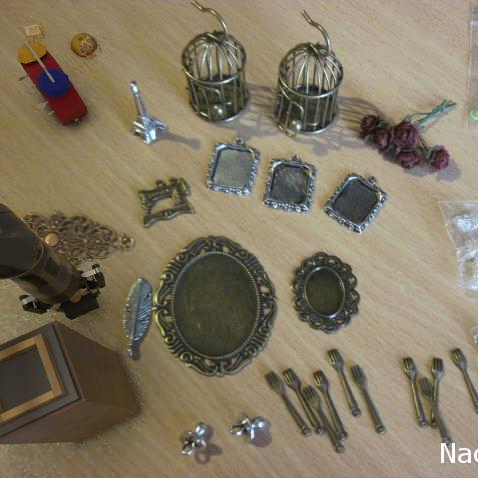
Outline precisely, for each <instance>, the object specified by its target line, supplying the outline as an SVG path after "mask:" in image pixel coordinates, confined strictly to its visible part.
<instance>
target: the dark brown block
mask: <svg viewBox="0 0 478 478" xmlns="http://www.w3.org/2000/svg"><path fill="white" fill-rule="evenodd" d="M97 299H98V298H96V299H95V298H94V297H93V296H91V295H90V293H87V294H85V295H74V296H72V297H71V298H70V299H68V300H67V301H65V302H63V303H61V305H62V307H63V310H64V313H63V314H64V315H65V318H67V319H69V320H71V321H73V320H75V319H77V318H80V317H81V316H83V315H86V314H89V313H90V312H93V311H95V310H98V309H99V308H100V305H99V302H98V300H97Z"/></svg>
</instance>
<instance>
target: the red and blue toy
mask: <svg viewBox="0 0 478 478" xmlns="http://www.w3.org/2000/svg"><path fill="white" fill-rule="evenodd" d="M17 62H19V64H20V66H21V68H22V69H23V70H24V72H25V75H24V76H21V77H20V78H18V79H17V81H18V82H21V81H24V80H25V79H26V78H29V79H30V81H31V83H33V85H32V84H30V85H29V90H30V89H31V90H34V88H36V89H37V91H38V92H39V94H40V95H41V96H42V98H43V99H44V101H45V102H39V103H37V105H36V108H38V109H37V110H43V109H44V108H45V107H46V106H47V105H48V106H49V108H50V109H51V110H52V111H48V113H47V115H48V116H53V114H54V115H55V116H56V118H57V119H58V120H59V121H60V123H61V124H62V126H66V125H67V124H69V123H71V122H73V121H74V122H78V121H79V118H81V117H82V116H84V115H85V114H87V113H89V111H88V107H87V106H86V103H85V102H84V100H83V98H82V97H81V95H80V94H79V92H78V91H77V89H76V87H75V86H74V84H73V82H72V81H71V80H70V77H69V75H68V74H67V73H66V72H65V71H64V70H63V68H62V67H61V65H60V64H59V63H58V61H57V60H56V59H55V58H54V56H53V55H52V54H51V52H50V51H48V49H47V46H46V45H44V44H42V43H40V42H39V41H36V42H34V41H32V42H30V41H28V42H27V40H25V39H24V40H23V44H22V45H21V46H20V47H18V49H17Z"/></svg>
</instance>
